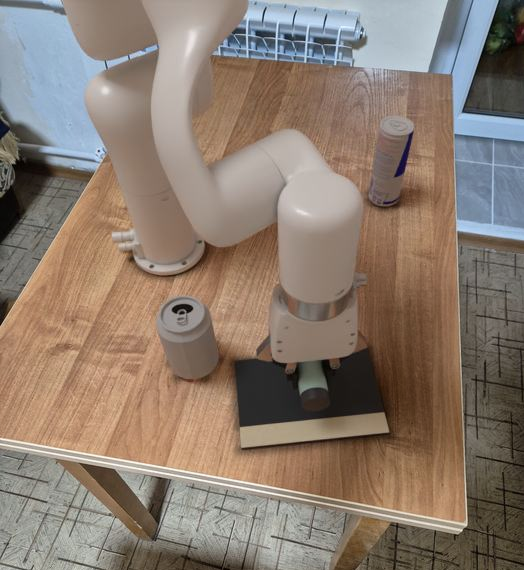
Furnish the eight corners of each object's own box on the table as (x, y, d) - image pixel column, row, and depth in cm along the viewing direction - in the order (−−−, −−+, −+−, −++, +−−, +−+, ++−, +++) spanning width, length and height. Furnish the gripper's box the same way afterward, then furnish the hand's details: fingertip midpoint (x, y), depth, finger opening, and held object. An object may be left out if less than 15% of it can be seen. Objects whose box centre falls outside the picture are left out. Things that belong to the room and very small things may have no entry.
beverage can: (397, 209, 94) (414, 135, 81) (366, 206, 94) (378, 133, 82) (399, 190, 97) (415, 115, 84) (369, 187, 97) (381, 113, 85)
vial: (291, 348, 71) (292, 333, 68) (316, 346, 71) (319, 331, 68) (300, 412, 66) (302, 398, 63) (328, 410, 66) (332, 396, 63)
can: (220, 339, 79) (210, 288, 69) (219, 381, 75) (208, 333, 65) (171, 341, 79) (155, 291, 69) (168, 383, 75) (150, 336, 65)
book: (241, 449, 69) (241, 447, 68) (234, 362, 77) (234, 360, 76) (388, 434, 69) (389, 432, 69) (367, 349, 77) (367, 346, 76)
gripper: (385, 253, 55) (365, 348, 71) (233, 269, 55) (246, 361, 70) (403, 307, 51) (377, 396, 66) (238, 324, 51) (250, 409, 66)
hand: (309, 377), depth 68 cm, fingers closed on vial, 3 cm apart
